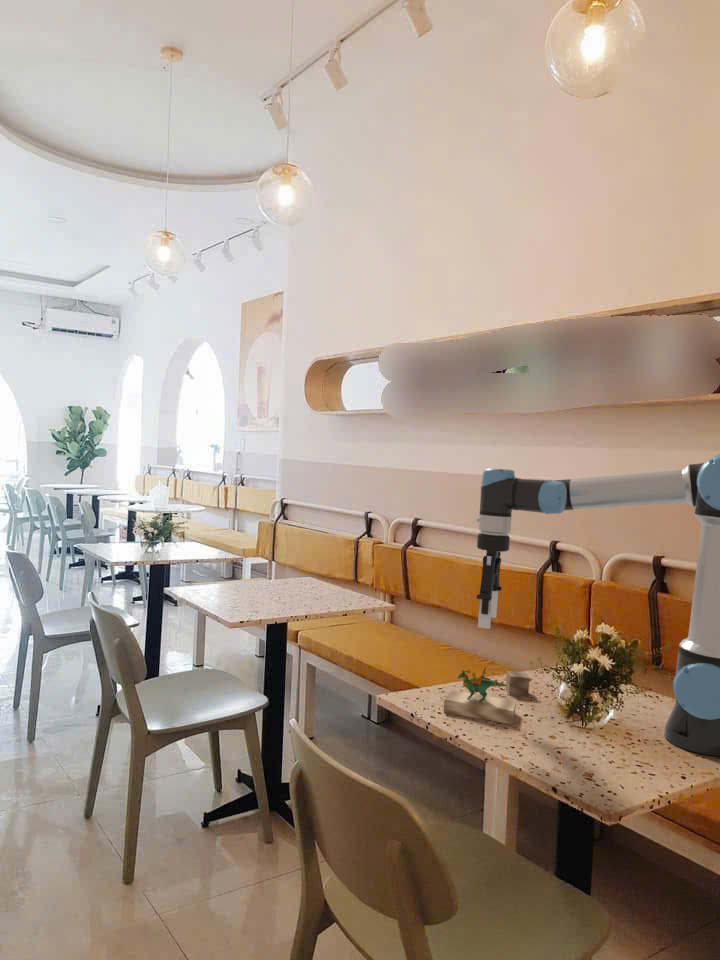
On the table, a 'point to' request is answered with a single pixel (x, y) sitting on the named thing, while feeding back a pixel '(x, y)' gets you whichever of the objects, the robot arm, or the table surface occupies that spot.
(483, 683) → the figurine
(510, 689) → the grey brown cube
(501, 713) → the beige rectangular block
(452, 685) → the table surface
